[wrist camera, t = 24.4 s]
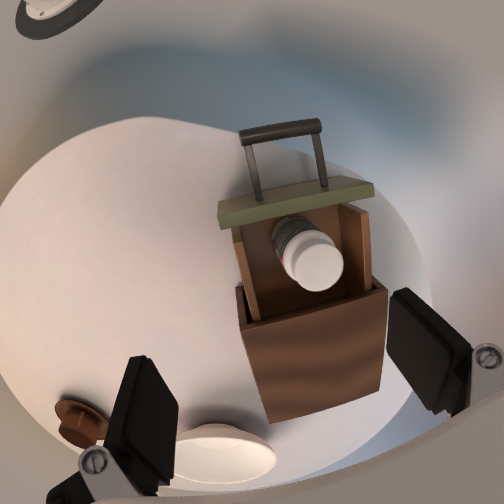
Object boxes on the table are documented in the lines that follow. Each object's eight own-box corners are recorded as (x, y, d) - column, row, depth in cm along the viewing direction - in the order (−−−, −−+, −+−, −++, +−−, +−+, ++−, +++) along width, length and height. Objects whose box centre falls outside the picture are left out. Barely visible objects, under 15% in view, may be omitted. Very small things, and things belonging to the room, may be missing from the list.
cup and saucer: (50, 387, 36) (38, 410, 30) (107, 403, 38) (98, 430, 32) (67, 423, 40) (59, 444, 34) (118, 438, 42) (113, 461, 36)
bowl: (195, 462, 46) (195, 488, 40) (141, 414, 39) (135, 445, 33) (283, 443, 45) (290, 471, 39) (248, 390, 39) (253, 425, 32)
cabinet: (235, 287, 32) (239, 330, 24) (353, 257, 33) (388, 289, 25) (260, 378, 38) (269, 424, 30) (355, 352, 38) (379, 390, 30)
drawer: (204, 141, 26) (198, 138, 19) (332, 119, 26) (362, 111, 20) (248, 320, 33) (255, 357, 27) (353, 292, 33) (378, 321, 27)
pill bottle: (261, 243, 29) (276, 278, 21) (288, 205, 28) (314, 226, 20) (297, 266, 30) (322, 305, 22) (323, 230, 29) (358, 259, 21)
